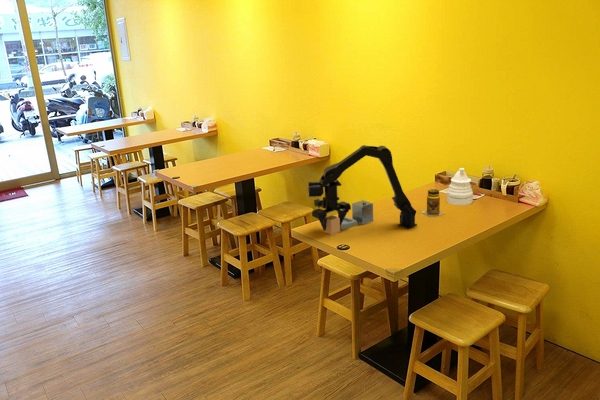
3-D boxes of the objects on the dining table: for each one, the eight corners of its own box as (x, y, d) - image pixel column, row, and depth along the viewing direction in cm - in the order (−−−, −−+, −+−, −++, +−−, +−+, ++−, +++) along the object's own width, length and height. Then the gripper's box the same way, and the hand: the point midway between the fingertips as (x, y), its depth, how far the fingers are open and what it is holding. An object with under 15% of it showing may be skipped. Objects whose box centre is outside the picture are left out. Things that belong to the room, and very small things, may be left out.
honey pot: (475, 204, 259) (477, 170, 253) (450, 205, 259) (451, 171, 254) (468, 196, 271) (469, 164, 265) (443, 198, 271) (445, 165, 266)
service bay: (357, 225, 241) (357, 220, 240) (341, 230, 235) (341, 226, 235) (343, 219, 249) (343, 215, 248) (327, 225, 243) (327, 220, 242)
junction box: (373, 221, 244) (373, 202, 241) (363, 225, 240) (362, 205, 237) (362, 217, 250) (362, 198, 247) (351, 220, 247) (351, 202, 244)
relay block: (340, 232, 234) (339, 217, 231) (331, 235, 231) (331, 219, 229) (333, 229, 238) (332, 214, 235) (324, 232, 235) (324, 217, 233)
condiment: (431, 217, 245) (431, 193, 242) (420, 212, 253) (421, 189, 249) (443, 214, 248) (444, 191, 244) (432, 209, 255) (433, 186, 252)
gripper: (335, 187, 240) (336, 218, 245) (303, 196, 230) (305, 228, 235) (351, 192, 232) (352, 224, 236) (319, 201, 221) (320, 234, 226)
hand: (332, 227), depth 234 cm, fingers open, 9 cm apart
